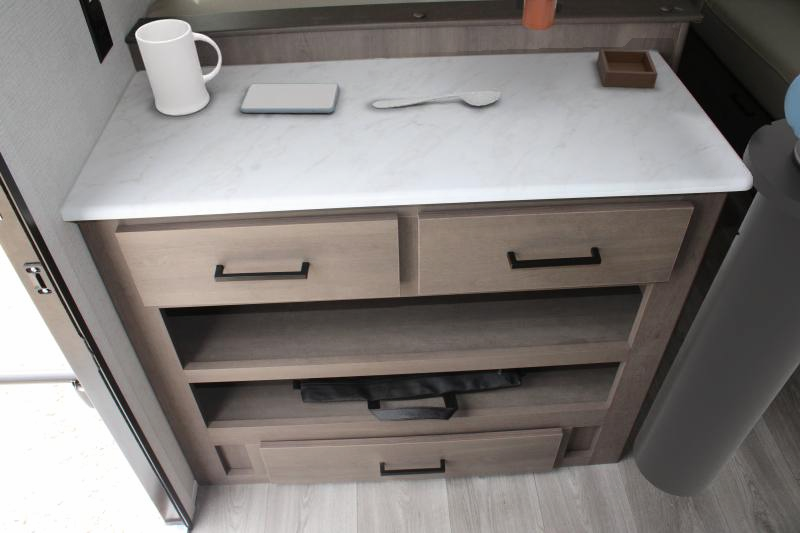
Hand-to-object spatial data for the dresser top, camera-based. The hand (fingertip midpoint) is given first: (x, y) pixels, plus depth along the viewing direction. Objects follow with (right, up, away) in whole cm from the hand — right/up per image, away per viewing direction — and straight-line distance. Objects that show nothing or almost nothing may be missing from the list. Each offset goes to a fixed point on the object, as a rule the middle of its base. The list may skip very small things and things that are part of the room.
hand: (538, 6), depth 84 cm
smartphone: (-36, -8, +18) cm, 41 cm away
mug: (-52, -8, +19) cm, 56 cm away
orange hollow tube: (+1, 0, +5) cm, 6 cm away
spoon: (-13, -9, +17) cm, 23 cm away
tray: (+20, -2, +23) cm, 31 cm away
